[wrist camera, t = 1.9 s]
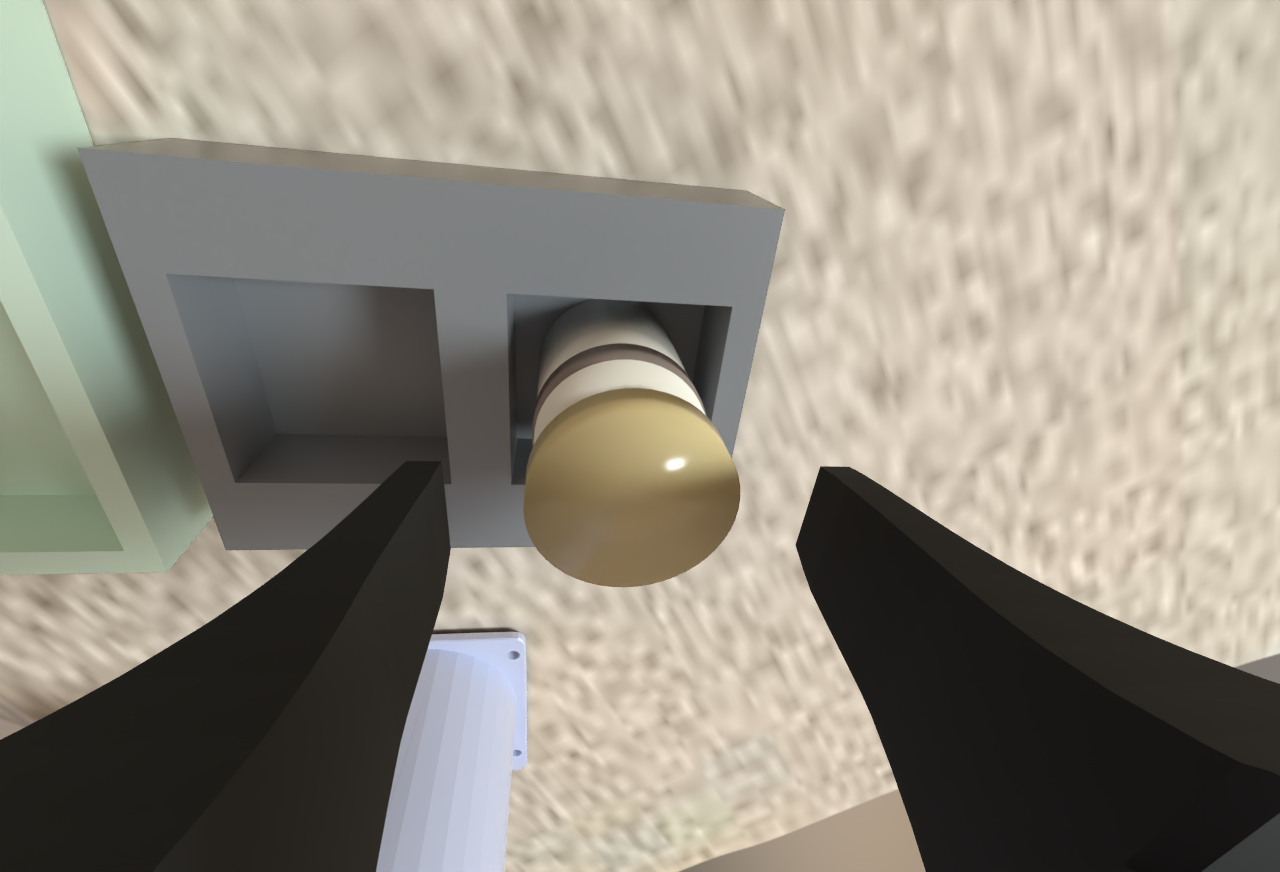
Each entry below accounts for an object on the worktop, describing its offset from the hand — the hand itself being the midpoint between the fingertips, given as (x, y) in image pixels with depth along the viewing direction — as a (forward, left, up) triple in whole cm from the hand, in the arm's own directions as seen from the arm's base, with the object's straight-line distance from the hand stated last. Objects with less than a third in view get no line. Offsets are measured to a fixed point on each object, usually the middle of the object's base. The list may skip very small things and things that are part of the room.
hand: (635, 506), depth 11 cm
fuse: (0, 0, -7) cm, 7 cm away
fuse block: (0, +4, -8) cm, 8 cm away
